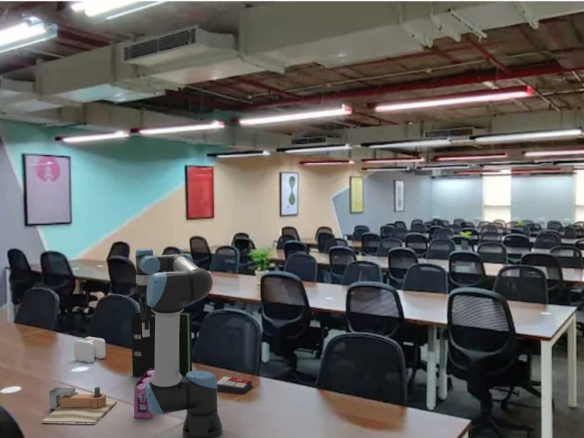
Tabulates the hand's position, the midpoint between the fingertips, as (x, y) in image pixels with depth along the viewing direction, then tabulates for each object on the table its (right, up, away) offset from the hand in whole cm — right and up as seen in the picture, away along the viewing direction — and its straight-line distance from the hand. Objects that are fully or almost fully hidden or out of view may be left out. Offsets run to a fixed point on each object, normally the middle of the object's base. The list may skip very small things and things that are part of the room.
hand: (146, 336), depth 231 cm
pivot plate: (-24, -30, -11) cm, 40 cm away
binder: (-1, -28, +35) cm, 45 cm away
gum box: (+4, -30, -5) cm, 31 cm away
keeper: (-34, -30, -5) cm, 46 cm away
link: (-25, -28, -7) cm, 38 cm away
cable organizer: (-50, -28, +64) cm, 85 cm away
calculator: (+37, -29, +16) cm, 50 cm away
